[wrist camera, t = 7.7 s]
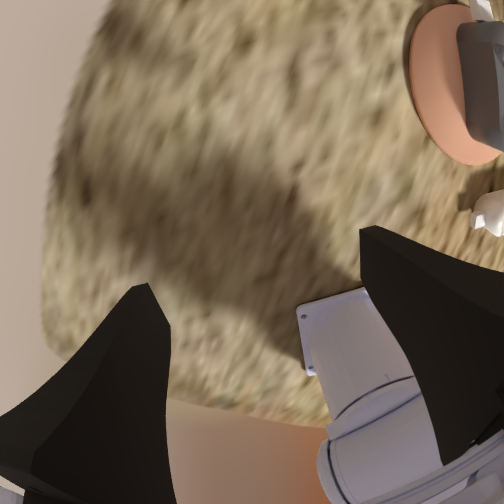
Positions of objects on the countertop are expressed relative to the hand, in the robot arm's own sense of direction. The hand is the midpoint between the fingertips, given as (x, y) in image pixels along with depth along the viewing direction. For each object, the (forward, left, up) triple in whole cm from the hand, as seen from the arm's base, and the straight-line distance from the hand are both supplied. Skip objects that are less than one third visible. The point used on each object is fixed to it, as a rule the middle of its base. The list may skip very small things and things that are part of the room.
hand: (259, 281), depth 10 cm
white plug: (-6, -23, -10) cm, 26 cm away
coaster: (+5, -19, -9) cm, 22 cm away
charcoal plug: (+5, -19, -9) cm, 22 cm away
